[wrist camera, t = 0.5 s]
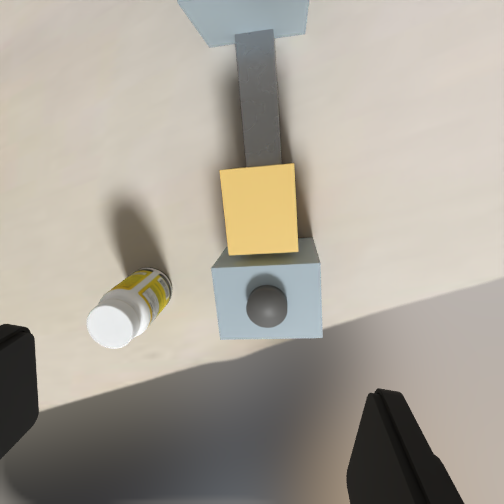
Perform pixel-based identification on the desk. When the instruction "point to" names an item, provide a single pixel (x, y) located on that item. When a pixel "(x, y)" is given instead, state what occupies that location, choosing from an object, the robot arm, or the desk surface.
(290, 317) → the frame
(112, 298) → the supplement bottle
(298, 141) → the desk surface
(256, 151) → the rail
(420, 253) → the desk surface
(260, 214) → the block
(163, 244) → the desk surface
